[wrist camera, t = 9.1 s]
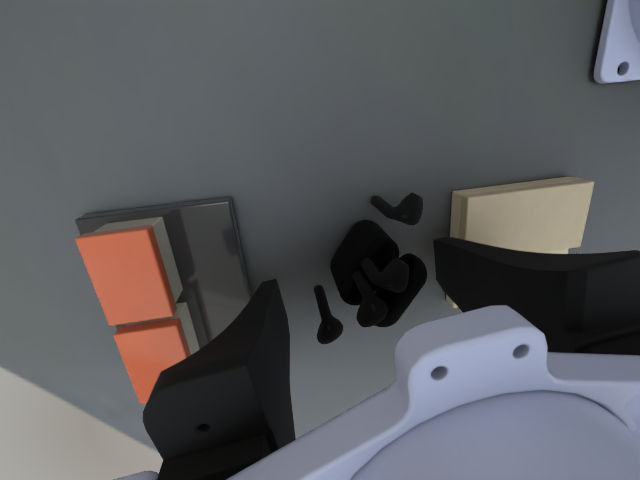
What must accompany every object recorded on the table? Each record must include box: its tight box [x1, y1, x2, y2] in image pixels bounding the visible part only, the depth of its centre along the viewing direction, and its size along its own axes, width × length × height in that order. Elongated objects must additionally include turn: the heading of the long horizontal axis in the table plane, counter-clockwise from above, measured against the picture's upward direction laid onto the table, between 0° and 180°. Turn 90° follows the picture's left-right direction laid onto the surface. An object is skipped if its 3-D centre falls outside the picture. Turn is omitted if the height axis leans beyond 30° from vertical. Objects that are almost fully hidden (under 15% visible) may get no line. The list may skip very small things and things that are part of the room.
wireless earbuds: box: [314, 193, 427, 344], centre depth 13 cm, size 7×2×5 cm, turn 149°
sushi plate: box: [75, 197, 251, 404], centre depth 14 cm, size 6×8×3 cm
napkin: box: [446, 176, 594, 308], centre depth 16 cm, size 6×6×1 cm
